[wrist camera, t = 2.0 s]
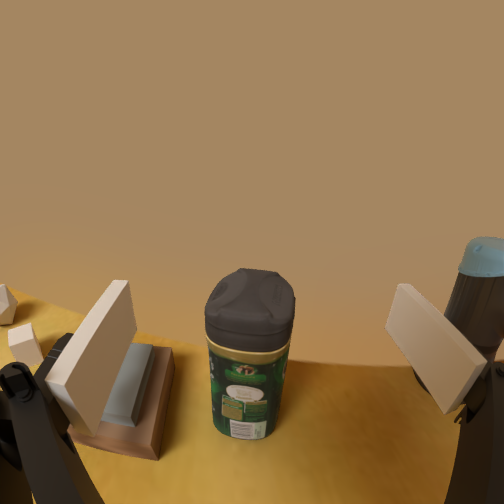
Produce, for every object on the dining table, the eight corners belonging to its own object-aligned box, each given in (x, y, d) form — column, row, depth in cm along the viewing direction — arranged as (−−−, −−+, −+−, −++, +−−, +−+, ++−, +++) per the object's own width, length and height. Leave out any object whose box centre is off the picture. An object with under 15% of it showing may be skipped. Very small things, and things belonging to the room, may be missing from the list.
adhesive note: (40, 345, 36) (30, 322, 34) (44, 362, 33) (33, 338, 31) (18, 353, 33) (7, 330, 31) (20, 370, 30) (8, 346, 28)
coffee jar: (223, 381, 36) (222, 257, 29) (280, 389, 35) (299, 265, 28) (205, 436, 27) (190, 306, 20) (273, 447, 26) (298, 320, 19)
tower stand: (175, 367, 38) (170, 336, 35) (158, 460, 23) (145, 435, 21) (81, 356, 36) (70, 326, 34) (43, 431, 22) (21, 401, 19)
